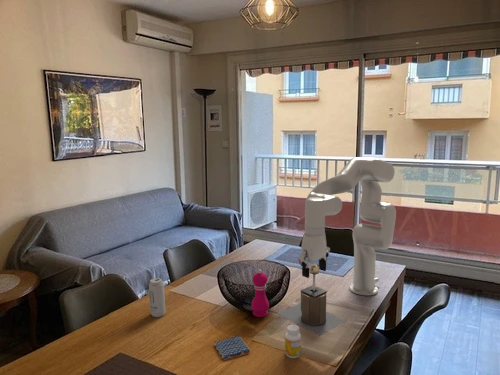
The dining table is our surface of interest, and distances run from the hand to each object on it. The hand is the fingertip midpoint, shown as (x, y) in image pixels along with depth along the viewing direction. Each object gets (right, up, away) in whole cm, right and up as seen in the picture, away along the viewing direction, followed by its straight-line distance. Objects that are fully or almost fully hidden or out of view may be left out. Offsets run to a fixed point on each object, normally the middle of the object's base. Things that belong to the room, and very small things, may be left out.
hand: (314, 273), depth 149 cm
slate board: (0, -20, +6) cm, 21 cm away
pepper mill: (-21, -20, +10) cm, 30 cm away
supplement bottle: (-10, -24, -16) cm, 31 cm away
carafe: (0, -19, +3) cm, 19 cm away
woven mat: (-31, -24, -13) cm, 42 cm away
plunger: (0, -17, +3) cm, 17 cm away
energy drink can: (-63, -20, +12) cm, 67 cm away
